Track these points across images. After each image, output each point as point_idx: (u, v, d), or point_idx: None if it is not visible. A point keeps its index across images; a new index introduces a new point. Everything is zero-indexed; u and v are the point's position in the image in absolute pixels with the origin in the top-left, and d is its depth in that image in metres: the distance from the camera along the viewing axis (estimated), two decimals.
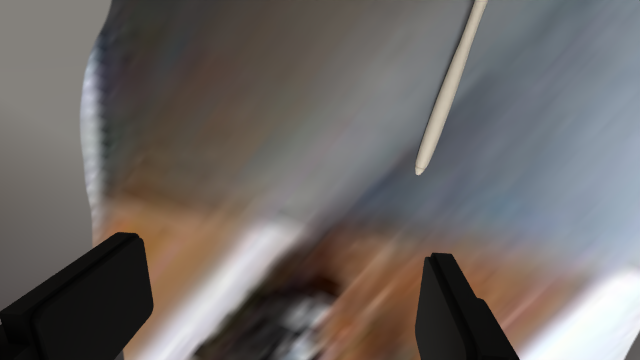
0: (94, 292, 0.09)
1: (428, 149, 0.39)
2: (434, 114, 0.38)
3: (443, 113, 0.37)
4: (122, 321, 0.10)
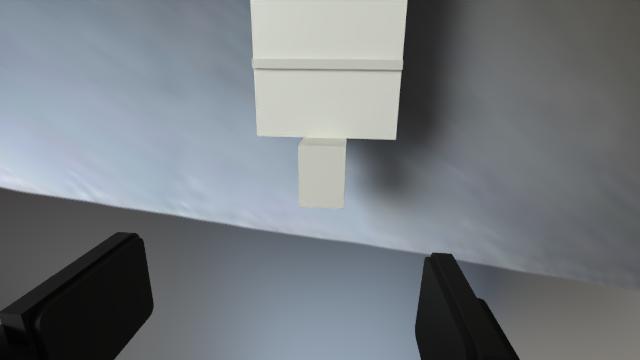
0: (94, 292, 0.09)
1: None
2: None
3: None
4: (122, 321, 0.10)
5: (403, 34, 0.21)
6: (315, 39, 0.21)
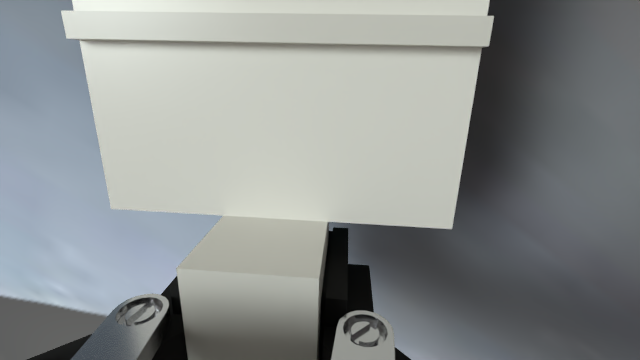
0: None
1: None
2: None
3: None
4: None
5: None
6: None
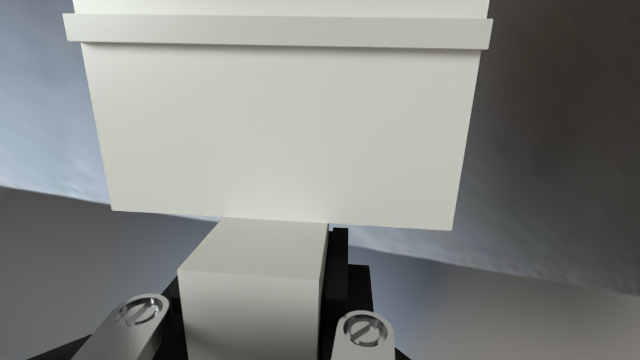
0: None
1: None
2: None
3: None
4: None
5: None
6: None
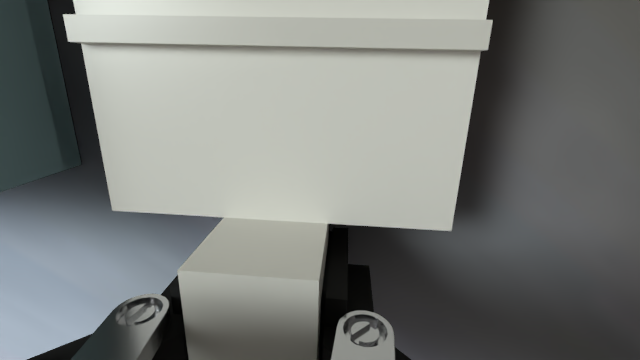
0: None
1: None
2: None
3: None
4: None
5: None
6: None
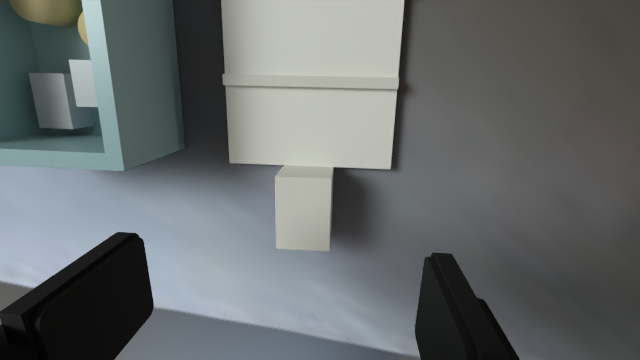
0: (94, 292, 0.09)
1: None
2: None
3: None
4: (122, 321, 0.10)
5: (399, 48, 0.18)
6: (297, 52, 0.18)
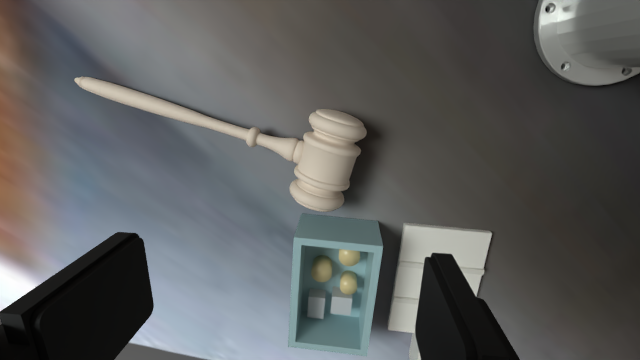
0: (94, 292, 0.09)
1: (99, 89, 0.35)
2: (137, 94, 0.35)
3: (137, 103, 0.35)
4: (122, 321, 0.10)
5: (476, 293, 0.40)
6: None
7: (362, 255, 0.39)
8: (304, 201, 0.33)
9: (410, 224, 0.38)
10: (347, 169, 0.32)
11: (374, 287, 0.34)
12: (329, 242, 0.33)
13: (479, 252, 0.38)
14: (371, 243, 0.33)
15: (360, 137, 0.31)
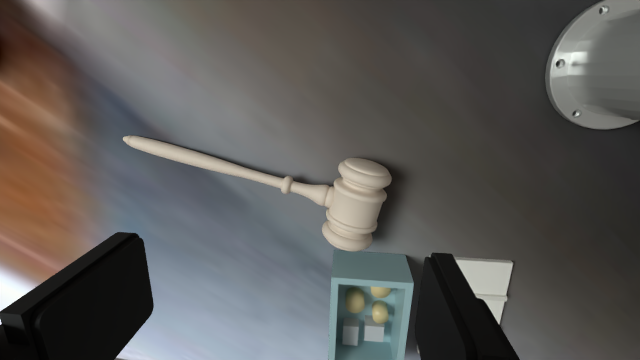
0: (94, 292, 0.09)
1: (146, 147, 0.39)
2: (180, 150, 0.38)
3: (181, 158, 0.38)
4: (122, 321, 0.10)
5: (500, 318, 0.42)
6: None
7: None
8: (337, 244, 0.36)
9: None
10: (375, 213, 0.35)
11: (406, 319, 0.37)
12: (364, 281, 0.36)
13: (502, 280, 0.41)
14: (402, 280, 0.36)
15: (387, 185, 0.34)
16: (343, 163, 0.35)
